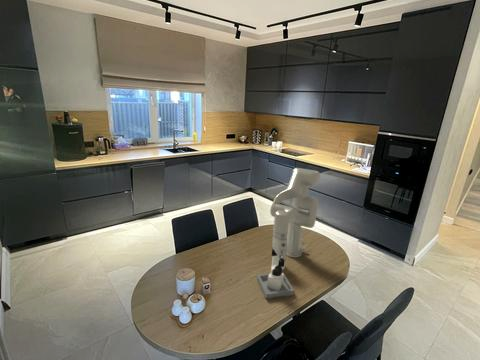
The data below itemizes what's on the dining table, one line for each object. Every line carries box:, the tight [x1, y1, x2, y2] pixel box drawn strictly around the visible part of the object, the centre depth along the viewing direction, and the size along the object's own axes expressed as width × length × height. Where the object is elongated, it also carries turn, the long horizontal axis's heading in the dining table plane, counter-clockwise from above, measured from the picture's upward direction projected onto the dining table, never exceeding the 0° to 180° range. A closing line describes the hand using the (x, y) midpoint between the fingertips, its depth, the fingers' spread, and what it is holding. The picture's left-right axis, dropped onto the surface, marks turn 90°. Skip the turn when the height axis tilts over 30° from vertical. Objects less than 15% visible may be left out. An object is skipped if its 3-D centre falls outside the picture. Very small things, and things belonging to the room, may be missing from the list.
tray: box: [256, 271, 295, 300], centre depth 144 cm, size 16×16×3 cm
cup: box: [271, 254, 286, 271], centre depth 160 cm, size 8×8×16 cm
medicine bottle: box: [267, 265, 285, 291], centre depth 143 cm, size 7×7×12 cm
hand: (277, 260), depth 140 cm, fingers open, 9 cm apart
